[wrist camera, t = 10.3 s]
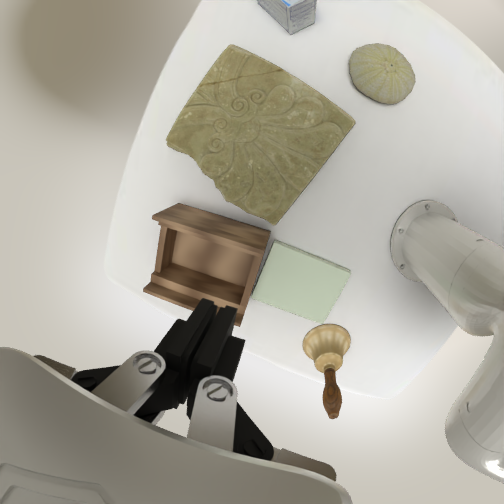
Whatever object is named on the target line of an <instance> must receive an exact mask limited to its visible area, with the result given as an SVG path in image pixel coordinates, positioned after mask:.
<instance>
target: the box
mask: <svg viewBox="0 0 504 504" xmlns="http://www.w3.org/2000/svg"><path fill="white" fill-rule="evenodd" d="M152 219H153V220H156V221H159V224H158V225H161V230H160V236H159V243H158V249H157V257H156V264H155V271H154V272H153V273H152V274H151V282H150V283H149V284H148V285H147V286H146V287H144V288H143V292H146V293H148V294H150V295H153V296H155V297H158V298H160V299H163V300H166V301H168V302H171V303H173V304H176V305H179V306H181V307H184V308H187V309H189V310H192V311H194V309H195V308H196V306H197V305H198V304H199V302H200V301H201V299H202V298H205V299H208V300H212V301H214V305H217V306H218V308H217V313H218V311H219V309H220V307H224V308H225V306H226V305H228V306H231V307H235V308H238V310H237V315H236V319H235V323H234V325H236V326H239V327H240V325H241V322H242V319H243V316H244V313H245V310H246V307H247V304H248V301H249V298H250V294H251V291H252V288H253V285H254V282H255V279H256V276H257V273H258V270H259V267H260V264H261V261H262V258H263V255H264V252H265V249H266V245H267V242H268V239H269V235H270V232H271V231H268V230H265V229H262V228H259V227H255V226H252V225H249V224H246V223H243V222H239V221H236V220H233V219H230V218H226V217H223V216H220V215H217V214H213V213H210V212H207V211H203V210H200V209H197V208H193V207H190V206H187V205H183V204H180V203H178V204H176V205H174V206H171V207H169V208H167V209H165V210H163V211H161V212H159V213H156V214H154V215H153V216H152ZM217 313H216V315H217Z"/></svg>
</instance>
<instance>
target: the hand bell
mask: <svg viewBox="0 0 504 504" xmlns="http://www.w3.org/2000/svg"><path fill="white" fill-rule="evenodd" d="M350 343H351V339H350V335H349V333H348V332H347V331H346V330H345V329H344V328H343V327H341V326H338V325H334V324H324V325H320V326H318V327H315V328H314V329H312V330H311V331H309V332H308V333H307V335H306V336H305V338H304V340H303V350H304V352H305V354H306V355H307V356H308V357H309V358H311V359H312V360H314V363H315V367H316V369H317V370H318V371H320V372H322V373H324V375H325V388H324V391H323V405H324V408H325V410H326V412H327V413H328V416H329V418H330V419H335V418H337V417H338V416H339V411H340V408H341V404H342V396H341V392H340V389H339V387H338V385H337V383H336V376H335V371H337V370H338V369H339V368H340V367H341V366H342V363H343V355H344V354H345V353H346V352H347V350H348V349H349V347H350Z"/></svg>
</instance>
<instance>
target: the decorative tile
mask: <svg viewBox="0 0 504 504" xmlns="http://www.w3.org/2000/svg"><path fill="white" fill-rule="evenodd" d="M354 124H355V120H354V119H353V118H352V117H351V116H350V115H348V114H347V113H346V112H345V111H343V110H342V109H341V108H339V107H338V106H337V105H335V104H334V103H333V102H331V101H330V100H329V99H327V98H326V97H325V96H323V95H322V94H320V93H319V92H318V91H316V90H315V89H313V88H312V87H310V86H309V85H307V84H306V83H304V82H303V81H301V80H299V79H298V78H296V77H295V76H293V75H291V74H289V73H288V72H286V71H284V70H283V69H282V68H280V67H278V66H276V65H274V64H273V63H271V62H269V61H267V60H265V59H263V58H261V57H259V56H257V55H255V54H253V53H251V52H249V51H247V50H244V49H242V48H240V47H238V46H235V45H229V46H228V47H227V48H226V49H225V50H224V51H223V53H222V54H221V55H220V56H219V58H218V59H217V60H216V62H215V63H214V64H213V65H212V67H211V68H210V70H209V71H208V72H207V74H206V75H205V77H204V78H203V80H202V81H201V83H200V84H199V85H198V87H197V89H196V90H195V92H194V93H193V94H192V96H191V97H190V99H189V100H188V102H187V103H186V105H185V106H184V108H183V109H182V111H181V113H180V114H179V116H178V118H177V119H176V121H175V123H174V125H173V127H172V128H171V130H170V132H169V134H168V136H167V138H166V141H167V146H168V147H170V148H172V149H175V150H176V151H178V152H181V153H185V154H188V155H189V156H190V157H192V158H193V159H194V160H195V161H196V162H197V164H198V166H199V167H200V168H201V170H202V172H203V173H204V174H205V175H207V176H208V177H210V178H211V179H213V180H214V182H215V186H216V188H217V189H219V190H220V191H221V193H222V195H223V197H224V199H225V200H226V201H227V202H230V203H233V204H234V205H236V206H238V207H240V208H241V209H243V210H244V211H246V212H247V213H249V214H253V215H255V216H258V217H260V218H263V219H265V220H267V221H268V222H270V223H271V224H272V225H276V224H277V223H278V221H279V220H280V219H281V218H282V216H283V215H284V214H285V213H286V212H287V210H288V209H289V208H290V207H291V205H292V204H293V203H294V202H295V200H296V199H297V198H298V197H299V195H300V194H301V193H302V192H303V190H304V189H305V188H306V187H307V185H308V184H309V183H310V182H311V180H312V179H313V178H314V176H315V175H316V174H317V172H318V171H319V170H320V169H321V167H322V166H323V165H324V163H325V162H326V161H327V160H328V158H329V157H330V156H331V154H332V153H333V152H334V151H335V149H336V148H337V146H338V145H339V144H340V142H341V141H342V140H343V139H344V137H345V136H346V135H347V133H348V132H349V131H350V130H351V128H352V127H353V126H354Z"/></svg>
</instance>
